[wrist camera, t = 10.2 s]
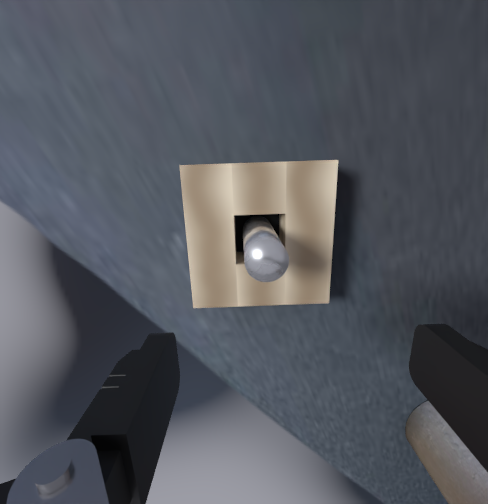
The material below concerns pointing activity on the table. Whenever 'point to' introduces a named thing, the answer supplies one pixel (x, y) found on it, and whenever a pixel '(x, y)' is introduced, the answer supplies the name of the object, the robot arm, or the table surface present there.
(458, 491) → the pillar candle
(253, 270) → the steel pin
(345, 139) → the table surface
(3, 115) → the table surface
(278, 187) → the oak hole block
